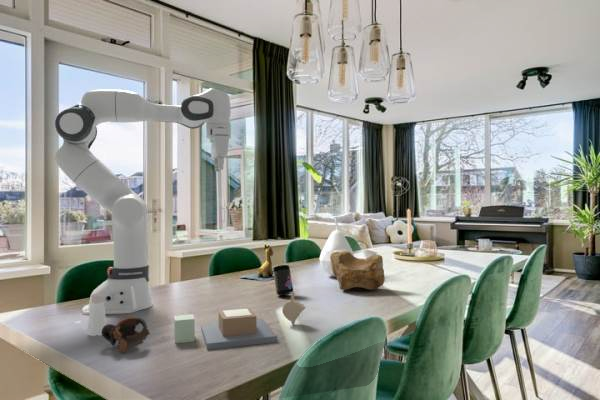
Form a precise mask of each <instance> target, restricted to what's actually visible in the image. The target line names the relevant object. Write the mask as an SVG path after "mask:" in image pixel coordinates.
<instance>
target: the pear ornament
mask: <svg viewBox="0 0 600 400" xmlns="http://www.w3.org/2000/svg"><path fill="white" fill-rule="evenodd" d="M334 223H335V230H333V231H331V233H330V234H329V236H328V238H327V240H326V241H325V244H324V246H323V248H322V250H321V251H320V255H319V258H318V259H319V263H320V266H321V269H322V271H324V272H325V273H326V274H328V275H330V276H331V277H336V276H335V275H334V274H333V270H332V266H331V259H330V257H331V254H332V253H334V252H344V251H347V252H350V253H351V254H352V255H353V256H354V257H355V255H354V252H353V251H354V250H353V249H352V247H351V245H350V243H349V242H348V240H347V238H346V236H345V234H344V233H343V232H342V231H341V230H343V231H345V232H347V231H348V228H347V226H343V225H340V224H338V221H337V219H336V218H335V219H334ZM339 229H341V230H339ZM336 278H337V277H336Z"/></svg>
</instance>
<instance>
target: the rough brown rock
mask: <svg viewBox="0 0 600 400" xmlns="http://www.w3.org/2000/svg"><path fill="white" fill-rule="evenodd" d="M330 259H331V266H332V270H333V274H334V275H335V276H336V280H337V282H338V285H339V289H340V290H341V291H342V290H343V291H344V290H350V289H352V288H364V289H366V290H369V291H374V290H376V289H377V290H378V289H379V288H381V287H382V286H384V283H385V269H384V263H383V262H384V261H383V260H384V258H383V256H382V255H381V254H373V255H371V256H369V257H366V259H365V258H358V257H355V255H354V256H353V255H352V254H351V253H350V252H347V251H344V252H334V253H332V254H331V257H330Z"/></svg>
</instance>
